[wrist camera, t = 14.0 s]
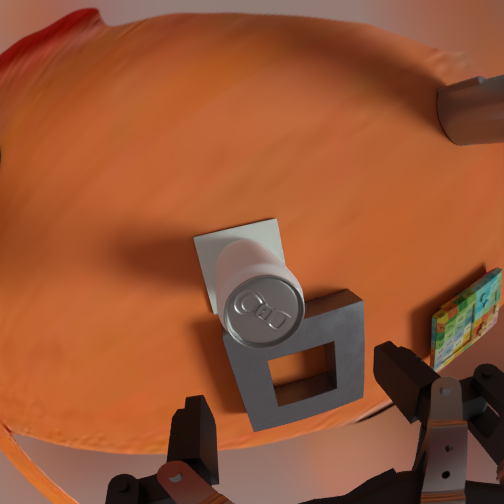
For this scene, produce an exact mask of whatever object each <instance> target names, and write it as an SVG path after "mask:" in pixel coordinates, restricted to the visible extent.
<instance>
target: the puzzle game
mask: <svg viewBox="0 0 504 504" xmlns="http://www.w3.org/2000/svg"><path fill="white" fill-rule="evenodd" d="M501 278H502V269H500V268H495V269H492V270H491V271H489V272H487V273H486V274H484V275H483V276H482V277H481V278H479V279H478V280H477V281H475V282H474V283H473V284H471V285H470V286H469V287H467V288H466V289H465V290H463V291H462V292H460V293H459V294H458V295H456V296H455V297H453V298H452V299H450V300H449V301H448V302H446V303H445V304H443V305H442V306H440V307H439V311H438V312H436V313H435V314H433V316H432V339H431V356H430V368H432V369H433V370H434V371H435V372H436V371H438V370H439V369H440V368H442V367H443V366H445V365H446V364H447V363H449V362H450V361H451V360H453V359H454V358H455V357H456V356H458V355H459V354H461V353H462V352H463V351H464V350H466V349H467V348H468V347H469V346H471V345H472V344H473V343H474V342H475V341H476V340H478V339H479V338H480V337H481V336H482V335H484V334H485V333H486V332H487V331H488V330H489V329H490V328H491V327H492V326H493V325H495V324H496V322H497V316H498V309H499V301H500V291H501Z"/></svg>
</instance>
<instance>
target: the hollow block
mask: <svg viewBox="0 0 504 504" xmlns="http://www.w3.org/2000/svg"><path fill="white" fill-rule="evenodd" d="M304 304H305V314H304V319H303V322H302V324H301V326H300V328H299V330H298V331H297V332H296V334H295V335H294V336H293V337H292V338H291V339H289V340H288V341H287V342H285V343H283V344H282V345H280V346H277V347H274V348H271V349H263V350H258V349H251V348H248V347H245V346H243V345H241V344H239V343H238V342H236V341H235V340H234V339H233V338H232V337H231V336H230V334H229V333H228V331H227V330H226V329H225V328H224V327H223V325H222V334H223V342H224V345H225V348H226V351H227V355H228V358H229V361H230V364H231V367H232V370H233V373H234V376H235V379H236V382H237V385H238V388H239V391H240V394H241V397H242V400H243V403H244V406H245V408H246V411H247V414H248V417H249V420H250V422H251V425H252V428H253V431H254V432H256V431H261V430H265V429H269V428H273V427H277V426H281V425H285V424H288V423H292V422H295V421H299V420H302V419H305V418H308V417H312V416H315V415H318V414H321V413H324V412H326V411H329V410H332V409H335V408H338V407H340V406H343V405H345V404H348V403H351V402H353V401H356V400H358V399H360V398H363V391H364V351H365V346H364V306H363V300H362V299H361V298H359V297H358V296H357V295H355V294H354V293H353V292H351V291H350V290H349V289H346V290H343V291H340V292H336V293H333V294H330V295H326V296H323V297H320V298H316V299H313V300H309V301H306V302H304ZM323 344H324V347H325V358H326V369H327V372H325V373H322V374H319V375H316V376H313V377H310V378H306V379H303V380H300V381H297V382H293V383H290V384H286V385H283V386H279V387H275V388H274V387H273V383H272V378H271V374H270V370H269V366H268V362H267V361H268V360H272V359H275V358H279V357H283V356H286V355H290V354H293V353H297V352H300V351H304V350H307V349H310V348H313V347H316V346H320V345H323Z"/></svg>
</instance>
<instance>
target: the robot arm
mask: <svg viewBox="0 0 504 504" xmlns="http://www.w3.org/2000/svg"><path fill="white" fill-rule="evenodd" d="M437 92H438V100H437V111H438V116H439V120H440V123H441V125H442V127H443V129H444V131H445V133H446V135H447V136H448V137H449V138H450V140H451V141H452V142H454V143H455V144H457V145H460V146H463V145H475V144H490V143H504V75H500V76H496V77H492V78H488V79H486V78H483V77H481V76H477V77H474V78H471V79H467V80H464V81H461V82H458V83H454V84H451V85H448V86H445V87H442V88H439V89H437ZM373 373H374V377H375V379H376V381H377V383H378V384H379V385H380V386H381V388H382V389H383V390H384V391H385V392H386V394H387V395H388V396H389V397H390V399H391V400H392V401H393V402H394V404H395V405H396V406H397V407H398V408H399V410H400V411H401V412H402V414H403V415H404V416H405V417H406V419H407V420H408V421H409V422H410V424H412V423H413V422H415V421H417V420H419V421H420V422H421V425H420V431H419V438H418V445H417V451H416V457H415V461H414V464H413V467H412V470H411V471H403V472H398V473H396V472H395V470H394V469H393V468H392V469H390V470H388V471H386V472H384V473H382V474H380V475H377V476H375V477H373V478H371V479H369V480H367V481H366V482H365V483H363V484H361V485H360V486H358V487H357V488H355V489H354V490H352V491H351V492H349V493H348V494H346V495H343V496H337V497H329V498H321V499H313V500H310V501H306V502H303V503H299V504H504V373H503V372H502V371H501V370H499V369H498V368H497V367H496V366H494V365H492V364H482V365H479V366H478V367H477V368H476V369H475V371H474V374H473V376H472V377H468V378H466V379H463V380H459V381H458V380H457V379H455V378H452V377H440V376H439V375H438V374H437V373H436V372H435V371H434V370H433V369H432V368H430V367H429V366H428V365H427V364H426V363H425V362H424V361H422V360H421V359H420V358H419V357H417V355H416V354H415V353H414V352H412V351H411V350H410V349H407V348H405V347H402V346H401V347H399V348H398V347H397V346H396V345H394V344H393V343H392V342H391V341H387V342H385V343H382V344H380V345H377V346H375V348H374V366H373ZM488 404H490V405H491V407H492V408H493V409H494V410H495V411H496V412H497V413H498V414H499V417H498V416H497V415H496V414H495V412H494V411H493V410H492V409H491V408H490V407H489V406H488ZM468 429H469V431H470V432H471V433H472V434H473V435H474V437H475V438H476V439H477V440H478V441H479V443H480V444H481V445H482V447H483V448H484V449H485V450H486V452H487V453H488V454H489V455H490V457H491V458H492V459H493V460H494V461H495V463H496V464H497V470H496V473H497V477H496V480H497V482H498V483H500V484H492V483H482V482H475V481H468V480H465V479H466V468H467V450H468ZM216 484H219V473H218V456H217V435H216V424H215V420H214V417H213V415H212V413H211V410H210V408H209V406H208V404H207V402H206V400H205V397H204V396H203V395H197V396H191V397H186V401H185V408H184V409H178V410H177V411H176V413H175V414H174V416H173V417H172V423H171V430H170V438H169V446H168V455H167V462H166V463H165V464H164V465H162V466H161V467H160V468H159V470H158V472H157V474H155V475H152V476H148V477H144V478H140V479H136V478H135V477H133V476H132V475H128V474H120V475H117V476H115V477H114V478H113V479H112V480H111V481H110V483H109V485H108V490H107V496H106V502H105V504H234V503H233V502H232V501H230V500H229V499H228V498H226V497H225V496H224V495H222V494H220V493H218V492H217V491H216V490H215V489H214V488H212V485H216Z"/></svg>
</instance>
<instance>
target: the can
mask: <svg viewBox="0 0 504 504" xmlns="http://www.w3.org/2000/svg"><path fill="white" fill-rule="evenodd" d="M215 282H216V303H217V312H218V316H219V319H220V321H221V323H222V325H223V327H224V328H225V329H226V330H227V331H228V333H229V334H230V336H231V337H232V338H233V339H234V340H235V341H236V342H238V343H239V344H241V345H243V346H245V347H248V348H251V349H258V350H263V349H271V348H274V347H277V346H280V345H282V344H283V343H285V342H287V341H288V340H289V339H291V338H292V337H293V336H294V335H295V334H296V332H297V331H298V330H299V328H300V326H301V324H302V322H303V319H304V314H305V304H304V300H303V292H302V289H301V286H300V284H299V282H298V280H297V279H296V278H295V276H294V275H293V274H292V273H291V272H290V271H289V269H288V268H287V267H286V266H285V265H284V264H283V263H282V262H281V261H280V260H279V259H278V258H277V257H276V256H275V255H274V254H273V253H272V252H271V251H270V250H269V249H268V248H267V247H266V246H265V245H263V244H262V243H260V242H258V241H255V240H251V239H241V240H237V241H234V242H232V243H230V244H228V245H227V246H226V247H225V248H224V249H223V250H222V251H221V253H220V254H219V256H218V259H217V262H216V266H215Z"/></svg>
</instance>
